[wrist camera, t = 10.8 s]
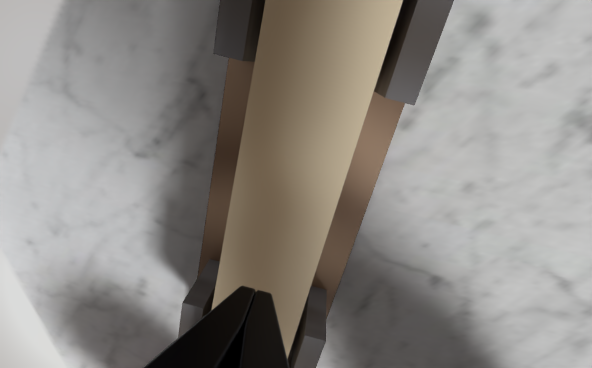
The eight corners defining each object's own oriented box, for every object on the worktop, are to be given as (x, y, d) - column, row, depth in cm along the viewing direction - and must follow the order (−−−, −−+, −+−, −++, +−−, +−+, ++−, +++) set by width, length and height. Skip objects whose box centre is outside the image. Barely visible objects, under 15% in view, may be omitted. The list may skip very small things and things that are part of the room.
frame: (312, 345, 21) (308, 417, 16) (196, 314, 21) (162, 378, 16) (450, -42, 12) (512, -96, 8) (257, -90, 12) (220, -169, 8)
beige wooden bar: (376, 23, 13) (403, -2, 8) (288, 314, 19) (274, 398, 14) (293, 1, 13) (271, -35, 8) (232, 299, 19) (199, 378, 14)
